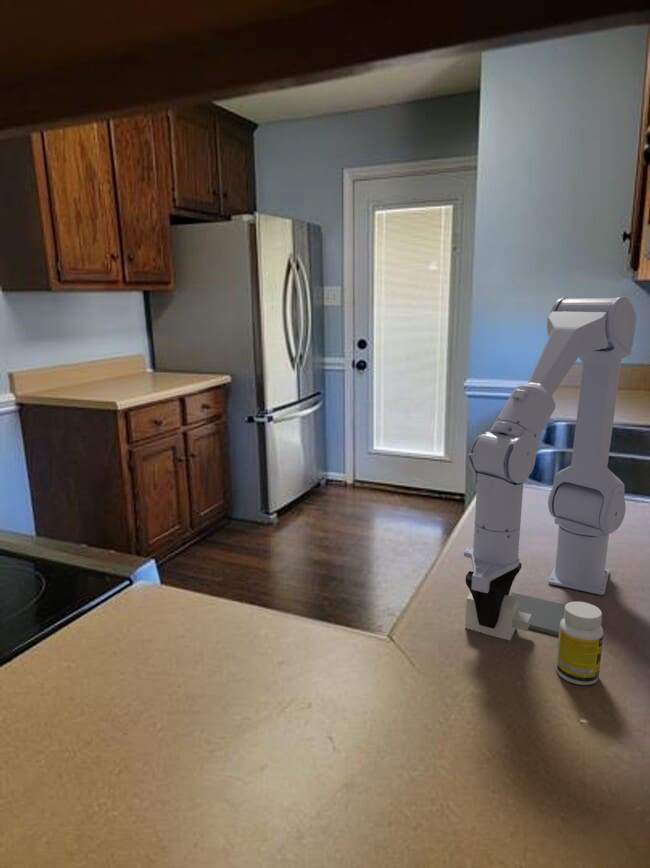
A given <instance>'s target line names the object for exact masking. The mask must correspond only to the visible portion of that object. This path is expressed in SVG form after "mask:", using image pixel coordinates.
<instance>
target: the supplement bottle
mask: <svg viewBox="0 0 650 868" xmlns="http://www.w3.org/2000/svg"><path fill="white" fill-rule="evenodd" d="M564 605H565V609H564V618H563V619H562V620H561V622H560V626H559V636H558V637H557V638H558V639H557V650H556V661H555V670H556V673H557V674H558V675H559V677H561V679H563V680H565V681H567V682H569V683H572V684H575V685H580V686H588V685H589V686H590V685H593V684H595V683H597V682H598V680H599V676H600V669H601V661H602V659H601V658H602V650H603V640H604V629H603V627H602V622H603V620H602V618H603V613H602V610H601V609H600V608H599V607H598V606H596V605H594V604H591V603H589V602H585V601H569V602H567V603H566V604H564Z"/></svg>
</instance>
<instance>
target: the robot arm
mask: <svg viewBox="0 0 650 868" xmlns="http://www.w3.org/2000/svg"><path fill="white" fill-rule="evenodd" d="M636 322H637V313H636V311H635V307H634V305H633V304H632V302H631V300H630V299H629V297H626V296H618V297H596V298H595V297H593V298H591V297H588V298H586V297H585V298H579V297H577V298H576V297H575V298H574V297H573V298H570V297H560V298H558V299H557V300H556V301H555V303H554V304H553V305H552V308H551V310H550V311H549V315H548V316H547V321H546V328H547V336H548V338H547V340H546V342H545V344H544V346H543V349H542V351H541V352H540V355H539V358H538V360H537V362H536V364H535V366H534V368H533V371H532V373H531V374H530V377H529V379H528V381H527V383H524V384H520V385H517V386H516V387H515V388H514V389H513V391H512V393H511V394H510V395H509V396H508V399H507V401H506V402H505V404H504V405H503V408H502V409H501V411H500V413H499V414H498V417H497V418H496V419H495V421H494V422H493V425H492V427H491V428H490V430H489V431H485V432H484V433H482V434H480V435H478V436H477V437H476V438H475V439H474V441H473V442H472V445H471V448H470V452H469V453H468V454H467V461H468V462H467V463H468V466H469V467H468V468H469V469H470V471H471V472H472V484H473V486H474V487H475V488H476V490H475V491H476V492H475V506H474V507H475V511H474V528H473V529H474V531H473V547H471V546H470V547H469V546H468V547H466V548H465V549H464V551H463V556H464V557H465V558H468V559H469V558H470V560H471V564H472V565H471V566H472V571H468V572H467V574H466V575H465V585H466V586H467V587H468V590H469V591H470V593H471V594H472V596H473V599H474V603H475V607H476V613H477V618H478V622H479V625H481V626H485V627H489V628H493V629H494V628H495V626H496V624H497V622H498V618H499V614H500V610H501V605H502V602H503V599H504V597H505V595H509V596H510V591H511V589H512V585H513V583H514V581H515V578H516V576H517V575H518V574H519V573H520V571H521V569H522V562H520V560H521V559H520V555H519V550H520V533H521V522H522V520H521V519H522V508H523V507H522V505H523V493H524V482H526V480H527V479H528V478H529V477H530V475H531V474H532V473H533V471H534V469H535V468H534V467H535V464H536V460H537V459H536V458H537V454H538V450H539V447H540V446H539V445H540V443H539V442H538V440H539V438H540V436H541V435H542V433H543V432H544V429H545V428H546V425H547V424H548V422H549V420H550V419H551V416H553V413H554V411H555V409H556V401H555V399H554V398H553V395H554V393H555V392H556V391H557V389H558V387H559V386H560V385H561V384H562V382H563V380H564V379H565V377H566V376H567V374H568V373H569V371H570V370H571V369H572V368H573V366H574V365H575V363H576V361H578V359H579V360H580V361H581V363H582V371H581V380H580V389H579V395H578V396H579V397H578V405H577V414H576V421H575V430H574V437H573V438H574V439H573V447H572V455H571V463H570V465H569V466H567V467H565V468H564V469H561V470H560V471H558V472H557V473H556V474H555V476H554V481H553V485H552V487H551V489H550V491H549V495H548V499H547V507H548V508H547V509H548V511H549V514H550V516H552V517H553V518H554V524H556V525H558V533H557V545H556V555H555V564H554V567H553V568H552V571H551V574H550V576H549V578H548V584H550V585H553V586H558V587H564V588H567V589H573V590H576V591H581V592H586V593H590V594H594V595H595V594H596V595H599V596H604V595H605V592H606V588H607V583H608V578H609V574H610V569H609V568H606V566H607V565H606V564H607V554H608V545H609V535H610V534H612V533H614V532H616V531H617V530H618V529H619V528H620V527H621V525H622V523H623V521H624V518H625V514H626V506H627V505H626V501H625V484H624V482H623V481H622V480H621V479H620V478H619V477H618V476H616V474H615V473H613V472H612V470H610V468H608V467H609V466H608V464H609V457H610V451H611V450H610V448H611V443H612V434H613V426H614V420H615V419H614V418H615V411H616V404H617V397H618V388H619V380H620V374H621V373H620V372H621V364H622V359H625V358H628V357H629V356H631V354H632V350H633V349H632V348H633V344H634V339H635V333H636V330H635V329H636Z"/></svg>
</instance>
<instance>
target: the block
mask: <svg viewBox="0 0 650 868" xmlns="http://www.w3.org/2000/svg"><path fill="white" fill-rule="evenodd" d="M465 607H466V608H465V624H464V627H465V628H464V629H466V628H468V629H467V630H469V629H471V630H470V631H473V630H475V631H474V632H477V631H478V633H480V632H482V633H481V634H484V635H488V636H492V637H496V638H500V639H503V640H506V641H507V640H508V641H511V640H512V638H513V635H514V634H515V632H516V630H521V631H526V632H528V630H529V629H530V628H529V626H530V623H531V614H528V613H524V612H520V611H518V598H517V597H513V596H511V595H510V594H509V595H505V597H504V599H503V602H502V605H501V610H500V614H499V618H498V622H497V624H496V626H495V628H494V629H493V628H489V627H485V626H481V625H479V622H478V618H477V613H476V607H475V603H474V599H473V596H472V594H471V592H470V593H469V594H468V596H467V597H466V605H465Z"/></svg>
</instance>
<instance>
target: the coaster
mask: <svg viewBox="0 0 650 868" xmlns="http://www.w3.org/2000/svg"><path fill="white" fill-rule="evenodd" d="M510 596H513V597H517V598H518V611H520V612H524V613H528V614H531V623H530V626H529V628H528V629H531V630H534V631H537V632H542V633H545V634H548V635H549V634H550V635H552V636H556V637H557V636H558V637H559V626H560V622H561V620H562V619H563V618H564V609H565V605H566V604H564V603H559V602H555V601H550V600H546V599H542V598H538V597H534V596H529V595H526V594H525V595H524V594H521V593H516V592H511V594H510Z"/></svg>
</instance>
